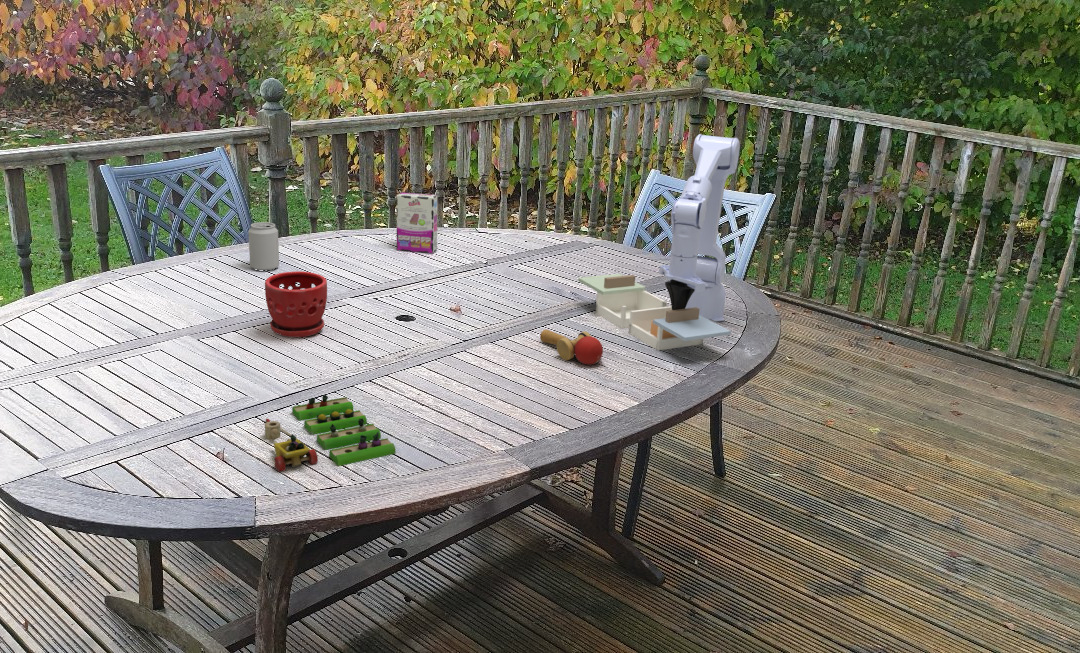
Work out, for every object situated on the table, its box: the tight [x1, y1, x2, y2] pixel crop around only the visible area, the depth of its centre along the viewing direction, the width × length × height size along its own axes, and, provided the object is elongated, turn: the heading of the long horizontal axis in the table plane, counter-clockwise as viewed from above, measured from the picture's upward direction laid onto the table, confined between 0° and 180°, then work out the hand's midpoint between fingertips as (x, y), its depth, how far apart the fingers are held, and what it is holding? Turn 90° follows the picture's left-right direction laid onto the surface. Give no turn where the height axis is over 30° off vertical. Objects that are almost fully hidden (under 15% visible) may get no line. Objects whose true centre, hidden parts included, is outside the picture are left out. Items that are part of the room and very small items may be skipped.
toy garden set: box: [264, 393, 397, 472], centre depth 165 cm, size 23×19×5 cm
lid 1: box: [577, 273, 646, 295], centre depth 238 cm, size 12×12×3 cm
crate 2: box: [628, 305, 704, 351], centre depth 219 cm, size 12×12×6 cm
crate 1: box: [594, 289, 668, 329], centre depth 232 cm, size 12×12×6 cm
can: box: [247, 221, 280, 271], centre depth 256 cm, size 8×8×12 cm
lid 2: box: [653, 307, 732, 341], centre depth 210 cm, size 12×12×3 cm
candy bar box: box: [395, 192, 439, 254], centre depth 281 cm, size 11×5×16 cm, turn 80°
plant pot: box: [264, 270, 328, 338], centre depth 212 cm, size 13×13×12 cm
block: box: [650, 320, 676, 339], centre depth 217 cm, size 4×4×4 cm
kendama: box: [539, 329, 604, 366], centre depth 209 cm, size 8×6×18 cm
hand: (677, 313), depth 214 cm, fingers closed
